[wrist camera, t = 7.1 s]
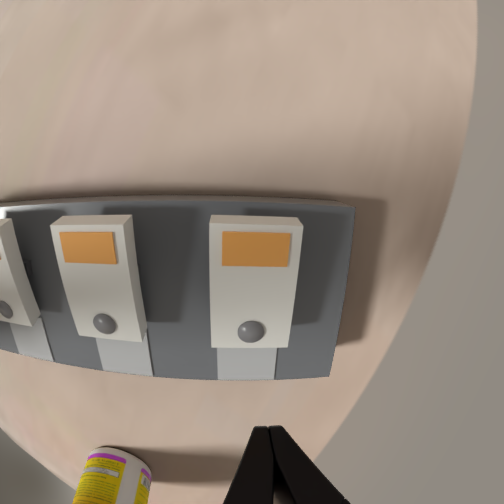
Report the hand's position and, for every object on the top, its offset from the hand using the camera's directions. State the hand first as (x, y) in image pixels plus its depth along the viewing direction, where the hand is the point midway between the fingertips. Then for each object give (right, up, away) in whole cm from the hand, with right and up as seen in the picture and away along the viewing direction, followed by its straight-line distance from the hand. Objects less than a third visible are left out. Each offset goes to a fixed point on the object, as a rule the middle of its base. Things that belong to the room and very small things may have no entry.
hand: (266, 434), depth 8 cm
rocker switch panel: (-8, +4, +9) cm, 13 cm away
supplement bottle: (-14, -16, +15) cm, 25 cm away
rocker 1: (-14, +4, +4) cm, 16 cm away
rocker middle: (-7, +4, +5) cm, 10 cm away
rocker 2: (0, +4, +5) cm, 7 cm away
